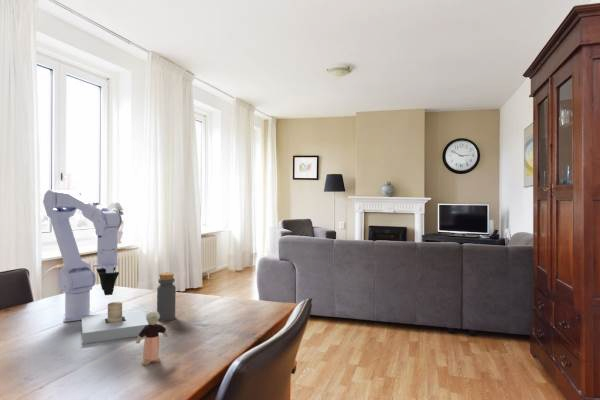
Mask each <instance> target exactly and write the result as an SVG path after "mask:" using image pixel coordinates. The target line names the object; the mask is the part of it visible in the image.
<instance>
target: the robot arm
mask: <svg viewBox="0 0 600 400" xmlns="http://www.w3.org/2000/svg"><path fill="white" fill-rule="evenodd" d="M42 203H43V206H44V209H45V213H46V216H47V217H48V218H49V219H50V222H51V226H52V228H53V232H54V235H55V239H56V243H57V246H58V248H59V253H60V255H61V258H62V262H63V264H64V265H63V266H62V267H61V268H60V269H59V271H58V273H57V276H58V286H59V288H60V290H61V291H62V292H63V293H64V294H65V295H64V298H65V299H64V303H65V304H64V313H63V322H64V323H66V322H67V323H68V322H75V321H76V322H77V321H81V316H87V315H92V314H91V308H90V307H91V304H90V301H91V298H90V297H91V291H92V289H93V287H94V286H95V284H96V282H97V275H96V273H95V271H94V270H93V269H92V267H93V268H96V272H97V274H98V277H99V279H100V280H99V281H100V287H101V290H102V291H103V293H104V296H111V295H113V294H114V288H115V285H116V281H117V278H118V276H119V275H120V272H119V271H116V267H118V266H119V262H118V234H119V233H118V229H120V227H121V226H122V222H123V220H122V215H121V213H120V212H118V210H111V211H110V210H109V209H108V208H107V207H106V206H102V205H101V204H100V202H99V201H97V200H96V201H90V202H89V201H88V200H87V199H85V198H84V197H83V196H82V193H81V192H80V191H77V190H63V189H62V190H60V189H59V190H57V189H56V190H55V189H48V190H46V191H45V193H44V195H43V201H42ZM77 210H79V211H80V212H81V214H82V216H83V217H84V218H85V219H87V220H89V221H90V222H92V223H93V227H94V229H95V235H96V236H97V241H96V243H97V245H96V246H97V249H96V250H97V251H96V252H97V259H96V261H97V263H93V264H92V266H91V264H90V263H87V262H86V261H84V260H82V257H81V254H80V252H79V251H80V250H79V248H78V245H77V241H76V238H75V236H74V232H73V230H72V226H71V225H72V224H71V221H70V218H72V217H73V216H74V215H75V213H76V211H77Z"/></svg>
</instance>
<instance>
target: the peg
mask: <svg viewBox="0 0 600 400" xmlns="http://www.w3.org/2000/svg"><path fill="white" fill-rule="evenodd" d="M122 311H123V302H122V301H121V302H120V301H117V302H116V301H114V302H109V303H107V313H108V323H116V322H122Z"/></svg>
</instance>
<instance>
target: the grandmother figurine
mask: <svg viewBox="0 0 600 400" xmlns="http://www.w3.org/2000/svg"><path fill="white" fill-rule="evenodd" d="M159 318H160V315H159V313H158V312H157V310H154V309H152V310H150V311H148V312H147V313H146V320H147V322H148V324H149V325H146V326H145V327H144V328H143V329H142V331H141V332H140V333H139V336H137V338H136V340H135V344H140V343H141V341H142V340H143V338H144V342H143V348H142V349H143V350H142V362H141V366H147V365H150V364H151V362H152V363H159V362H161V358H160V357H159V355H160V334H162V335H163V337H165V338H167V337H168V336H169V334H168V332H167V328H166V327H165V326H164V325H162V324H159V323H158V322H159V320H158V319H159ZM159 333H160V334H159Z"/></svg>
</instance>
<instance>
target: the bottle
mask: <svg viewBox="0 0 600 400" xmlns="http://www.w3.org/2000/svg"><path fill="white" fill-rule="evenodd" d="M174 275H175V273H173V272H161V273H159V274H158V276H159V279H158V283H159V284H160V285H158V286H157V289H156V290H157V291H156V292H157V295H156V296H157V297H156V312H158V313H159V315H160V318H159V319H158V321H161V322H167V321H168V322H169V321H172V320H174V319H176V296H177V295H176V285H174V283H175V278H174Z"/></svg>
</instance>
